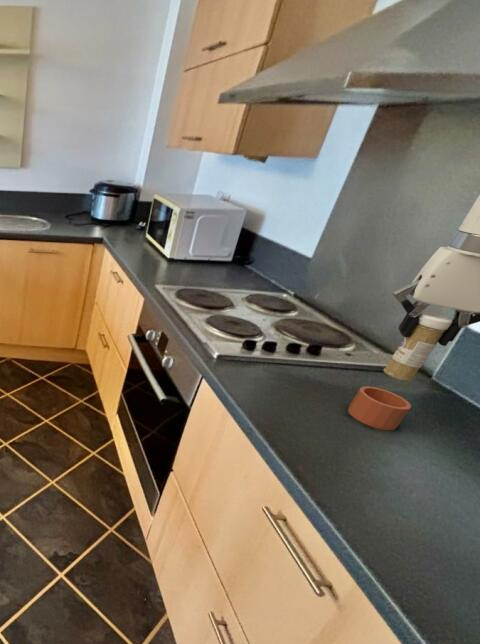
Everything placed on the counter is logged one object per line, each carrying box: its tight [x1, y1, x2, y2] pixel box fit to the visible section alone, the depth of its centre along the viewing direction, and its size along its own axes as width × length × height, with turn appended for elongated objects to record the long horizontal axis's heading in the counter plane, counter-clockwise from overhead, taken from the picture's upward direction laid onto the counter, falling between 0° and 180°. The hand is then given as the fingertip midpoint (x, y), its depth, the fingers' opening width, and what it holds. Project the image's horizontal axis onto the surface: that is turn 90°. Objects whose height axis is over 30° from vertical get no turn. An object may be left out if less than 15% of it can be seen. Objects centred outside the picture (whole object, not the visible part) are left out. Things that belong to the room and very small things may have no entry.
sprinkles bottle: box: [383, 311, 453, 382], centre depth 80 cm, size 5×5×13 cm
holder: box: [347, 385, 412, 432], centre depth 87 cm, size 8×8×6 cm
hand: (422, 337), depth 80 cm, fingers closed on sprinkles bottle, 4 cm apart
